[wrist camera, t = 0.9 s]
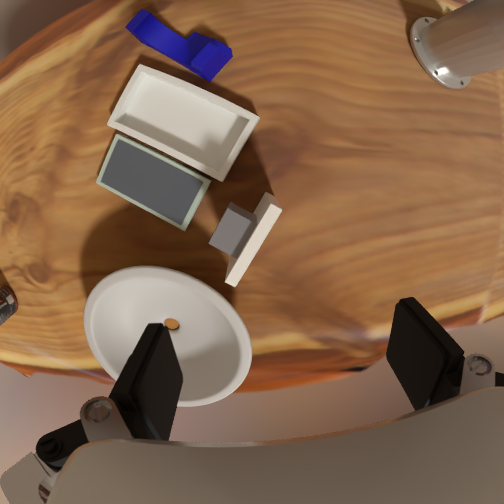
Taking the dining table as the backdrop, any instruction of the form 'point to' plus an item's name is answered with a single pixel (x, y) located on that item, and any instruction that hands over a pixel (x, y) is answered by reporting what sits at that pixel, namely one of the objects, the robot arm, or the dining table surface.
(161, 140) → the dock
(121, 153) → the phone
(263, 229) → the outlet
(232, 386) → the soup bowl
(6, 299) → the supplement bottle
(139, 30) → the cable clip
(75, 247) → the dining table surface
